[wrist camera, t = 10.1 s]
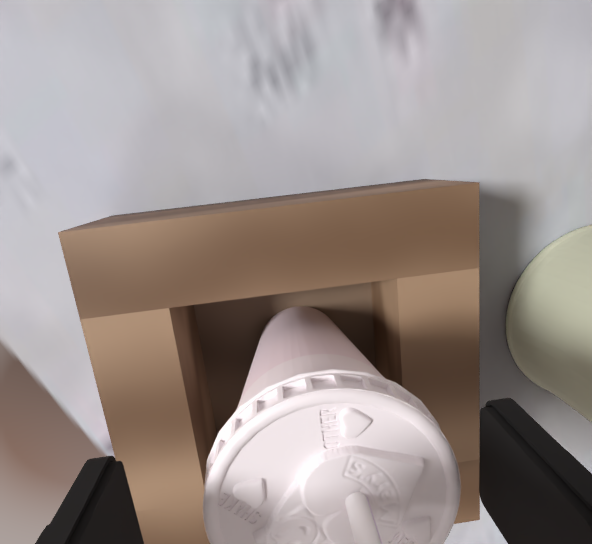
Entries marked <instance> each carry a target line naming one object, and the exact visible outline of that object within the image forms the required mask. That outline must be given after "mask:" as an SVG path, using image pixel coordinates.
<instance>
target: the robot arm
mask: <svg viewBox="0 0 592 544" xmlns="http://www.w3.org/2000/svg"><path fill="white" fill-rule="evenodd" d="M479 493H480V497H481V501H482V503H483V505H484V507H485V508H486V510H487V512H488V513H489V515H490V516H491V518H492V519H493V521H494V522H495V524H496V526H497V527H498V529H499V530H500V532H501V533H502V535H503V536H504V538H505V540H506V541H507V543H508V544H592V474H591V473H590V472H589V471H588V470H587V469H586V468H585V467H584V466H583V465H582V464H581V463H580V462H579V461H577V460H576V459H575V458H574V457H573V456H572V455H571V454H570V453H569V452H568V451H567V450H565V449H564V448H563V447H562V446H561V445H560V444H559V443H558V442H557V441H556V440H555V439H554V438H553V437H551V436H550V435H549V434H548V433H547V432H546V431H545V430H544V429H543V428H542V427H541V426H540V425H539V424H538V423H537V422H536V421H535V420H534V419H533V418H532V417H530V416H529V415H528V414H527V413H526V412H525V411H524V410H523V409H522V408H521V407H520V406H519V405H518V404H517V403H516V402H515V401H514V400H512V399H511V398H505V399H498V400H491V401H488V402H487V403H486V406H485V407H484V408H481V410H480V463H479ZM35 544H144V541H143V537H142V534H141V530H140V526H139V522H138V518H137V515H136V511H135V507H134V503H133V499H132V496H131V492H130V488H129V484H128V481H127V477H126V473H125V469H124V465H123V463H122V462H121V461H116V459H115V458H114V456H107V457H100V458H93V459H89V460H87V462H86V463H85V464H84V466H83V468H82V470H81V471H80V473H79V475H78V477H77V478H76V480H75V482H74V483H73V485H72V487H71V489H70V490H69V492H68V494H67V496H66V497H65V499H64V501H63V502H62V504H61V506H60V508H59V509H58V511H57V513H56V515H55V516H54V518H53V520H52V522H51V523H50V524H49V525H47V526H46V528H45V529H44V530H43V532H42V533H41V535H40V536H39V538H38V540H37V542H36V543H35Z"/></svg>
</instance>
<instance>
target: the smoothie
mask: <svg viewBox="0 0 592 544" xmlns="http://www.w3.org/2000/svg"><path fill="white" fill-rule="evenodd" d="M460 493H461V482H460V473H459V468H458V464H457V461H456V458H455V455H454V452H453V450H452V448H451V446H450V444H449V442H448V441H447V439H446V438H445V436H444V434H443V433H442V432H441V429H440V427H439V424H438V422H437V421H436V419H435V418H434V417H433V416H432V414H431V413H430V412H429V410H428V409H427V408H426V406H425V405H424V404H423V403H422V401H421V400H420V399H418V398H417V397H416V396H414V395H413V394H411V393H410V392H409V391H407V390H406V389H404V388H403V387H402V386H400V385H399V384H397V383H396V382H393V381H390V380H388V379H385V378H384V377H383V376H382V375H381V374H380V373H379V372H378V370H377V369H376V368H375V367H374V366H373V365H372V364H371V363H370V362H369V361H368V360H367V358H366V357H365V356H364V355H363V354H362V353H361V352H360V351H359V350H358V349H357V348H356V346H355V345H354V344H353V343H352V342H351V341H350V340H349V339H348V338H347V337H346V336H345V335H344V333H343V332H342V331H341V330H340V329H339V328H338V327H337V326H336V325H335V324H334V323H333V321H332V320H331V319H330V318H329V317H328V316H327V315H325V314H324V313H323V312H321V311H319V310H317V309H314V308H311V307H304V306H297V307H291V308H287V309H285V310H283V311H281V312H279V313H277V314H276V315H275V316H273V317H272V318H271V319H270V320H269V321H268V323H267V324H266V326H265V327H264V329H263V331H262V334H261V337H260V340H259V343H258V347H257V350H256V353H255V356H254V359H253V362H252V365H251V368H250V371H249V374H248V377H247V380H246V383H245V386H244V389H243V392H242V395H241V398H240V401H239V404H238V407H237V409H236V411H235V412H234V414H233V415H232V416H231V417H230V419H229V420H228V421H227V422H226V423H225V425H224V426H223V427H222V428H221V430H220V431H219V433H218V435H217V437H216V440H215V442H214V444H213V447H212V449H211V451H210V454H209V456H208V458H207V464H206V474H205V484H204V498H203V519H204V525H205V530H206V533H207V537H208V540H209V542H210V544H443V543H444V542H445V540H446V538H447V537H448V535H449V533H450V531H451V529H452V526H453V524H454V521H455V518H456V516H457V512H458V508H459V502H460Z"/></svg>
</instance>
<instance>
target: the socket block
mask: <svg viewBox="0 0 592 544" xmlns="http://www.w3.org/2000/svg"><path fill="white" fill-rule="evenodd" d="M58 234H59V238H60V242H61V246H62V250H63V254H64V258H65V262H66V266H67V270H68V273H69V277H70V281H71V285H72V289H73V293H74V297H75V301H76V305H77V309H78V313H79V317H80V321H81V325H82V329H83V333H84V336H85V340H86V344H87V348H88V352H89V356H90V360H91V364H92V368H93V372H94V376H95V380H96V384H97V388H98V392H99V396H100V399H101V403H102V407H103V411H104V415H105V419H106V423H107V427H108V431H109V435H110V439H111V443H112V447H113V451H114V455H115V458H116V461H121V462H122V463H123V465H124V469H125V473H126V477H127V481H128V484H129V488H130V492H131V496H132V499H133V503H134V507H135V511H136V515H137V518H138V522H139V526H140V530H141V534H142V537H143V541H144V544H210V542H209V540H208V537H207V533H206V530H205V525H204V519H203V498H204V484H205V474H206V464H207V458H208V456H209V454H210V451H211V449H212V447H213V444H214V442H215V440H216V437H217V435H218V433H219V431H220V430H221V428H222V427H223V426H224V425H225V423H226V422H227V421H228V420H229V419H230V417H231V416H232V415H233V414H234V412H235V411H236V409H237V407H238V404H239V401H240V398H241V395H242V392H243V389H244V386H245V383H246V380H247V377H248V374H249V371H250V368H251V365H252V362H253V359H254V356H255V353H256V350H257V347H258V343H259V340H260V337H261V334H262V331H263V329H264V327H265V326H266V324H267V323H268V321H269V320H270V319H271V318H272V317H273V316H275V315H276V314H277V313H279V312H281V311H283V310H285V309H287V308H291V307H297V306H304V307H311V308H314V309H317V310H319V311H321V312H323V313H324V314H325V315H327V316H328V317H329V318H330V319H331V320H332V321H333V323H334V324H335V325H336V326H337V327H338V328H339V329H340V330H341V331H342V332H343V333H344V335H345V336H346V337H347V338H348V339H349V340H350V341H351V342H352V343H353V344H354V345H355V346H356V348H357V349H358V350H359V351H360V352H361V353H362V354H363V355H364V356H365V357H366V358H367V360H368V361H369V362H370V363H371V364H372V365H373V366H374V367H375V368H376V369H377V370H378V372H379V373H380V374H381V375H382V376H383V377H384V378H385V379H388V380H390V381H393V382H396V383H397V384H399V385H400V386H402V387H403V388H404V389H406V390H407V391H409V392H410V393H411V394H413V395H414V396H416V397H417V398H418V399H420V400H421V401H422V403H423V404H424V405H425V406H426V408H427V409H428V410H429V412H430V413H431V414H432V416H433V417H434V418H435V419H436V421H437V422H438V424H439V427H440V429H441V432H442V433H443V434H444V436H445V438H446V439H447V441H448V442H449V444H450V446H451V448H452V450H453V452H454V455H455V458H456V461H457V464H458V468H459V473H460V482H461V493H460V502H459V508H458V512H457V516H456V518H455V521H454V524H456V523H462V522H469V521H475V520H480V493H479V183H478V182H462V181H445V180H428V179H421V180H413V181H404V182H396V183H387V184H379V185H370V186H362V187H353V188H345V189H336V190H327V191H319V192H310V193H302V194H293V195H285V196H276V197H268V198H259V199H251V200H242V201H234V202H225V203H217V204H208V205H200V206H191V207H182V208H174V209H165V210H157V211H148V212H140V213H131V214H123V215H114V216H110V217H107V218H103V219H100V220H97V221H94V222H90V223H87V224H84V225H81V226H77V227H74V228H71V229H68V230H64V231H61V232H58Z"/></svg>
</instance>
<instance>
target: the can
mask: <svg viewBox="0 0 592 544" xmlns="http://www.w3.org/2000/svg"><path fill="white" fill-rule="evenodd" d="M506 336H507V342H508V346H509V350H510V352H511V354H512V357H513V359H514V361H515V363H516V364H517V366H518V367H519V369H520V370H521V371H522V372H523V373H524V375H525V376H526V377H527V378H529V379H530V380H531V381H532V382H534V383H535V384H537V385H538V386H540V387H542V388H543V389H545V390H547V391H550V392H551V393H553V394H554V395H556V396H557V397H558V398H560V399H561V400H562V401H564V402H565V403H567V404H568V405H569V406H571V407H572V408H573V409H575V410H576V411H577V412H578V413H580V414H581V415H582V416H584V417H585V418H586V419H588V420H589V421H590V422H592V225H589V226H585V227H582V228H579V229H576V230H574V231H571V232H569V233H567V234H565V235H563V236H561V237H560V238H558V239H557V240H555V241H553V242H552V243H551V244H549V245H548V246H547V247H545V248H544V249H543V250H542V251H541V252H540V253H539V254H538V255H537V256H536V257H535V258H534V259H533V260H532V261H531V262H530V264H529V265H528V266H527V267H526V269H525V270H524V272H523V273H522V275H521V276H520V278H519V280H518V281H517V283H516V285H515V288H514V290H513V292H512V295H511V298H510V301H509V305H508V309H507V316H506Z"/></svg>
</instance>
